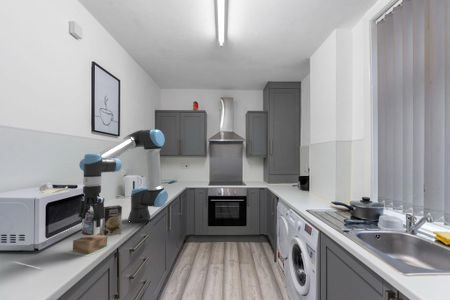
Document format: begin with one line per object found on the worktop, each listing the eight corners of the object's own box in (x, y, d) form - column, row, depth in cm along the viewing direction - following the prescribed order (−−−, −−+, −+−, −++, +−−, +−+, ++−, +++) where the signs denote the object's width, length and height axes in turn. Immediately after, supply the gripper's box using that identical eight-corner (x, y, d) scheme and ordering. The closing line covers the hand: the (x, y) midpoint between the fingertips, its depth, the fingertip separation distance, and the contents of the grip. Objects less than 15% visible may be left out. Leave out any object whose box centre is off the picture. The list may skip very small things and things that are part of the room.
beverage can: (80, 235, 105) (81, 210, 105) (97, 231, 110) (98, 207, 110) (83, 238, 100) (84, 212, 101) (101, 234, 105) (101, 209, 106)
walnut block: (92, 243, 111) (92, 233, 111) (106, 246, 108) (107, 235, 108) (72, 251, 102) (73, 240, 102) (88, 254, 98) (88, 243, 99)
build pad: (92, 242, 114) (92, 241, 114) (113, 246, 109) (113, 245, 109) (65, 253, 100) (65, 252, 100) (87, 258, 96) (87, 256, 96)
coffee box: (103, 237, 121) (104, 208, 122) (101, 234, 126) (102, 206, 126) (121, 234, 127) (122, 206, 127) (118, 231, 132) (119, 204, 132)
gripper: (70, 185, 106) (68, 233, 105) (100, 187, 99) (99, 237, 98) (84, 183, 113) (83, 228, 112) (114, 185, 106) (112, 232, 105)
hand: (90, 232), depth 105 cm, fingers closed on beverage can, 7 cm apart
